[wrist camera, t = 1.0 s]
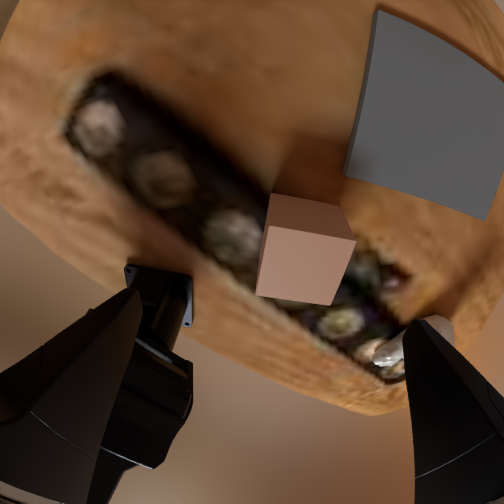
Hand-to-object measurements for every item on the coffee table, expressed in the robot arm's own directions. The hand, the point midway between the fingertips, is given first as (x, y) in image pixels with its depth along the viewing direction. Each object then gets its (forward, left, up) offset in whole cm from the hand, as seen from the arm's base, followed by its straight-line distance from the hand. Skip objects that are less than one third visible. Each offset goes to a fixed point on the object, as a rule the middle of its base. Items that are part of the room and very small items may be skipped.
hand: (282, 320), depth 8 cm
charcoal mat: (+8, -11, -12) cm, 18 cm away
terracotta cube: (-3, -2, -12) cm, 13 cm away
